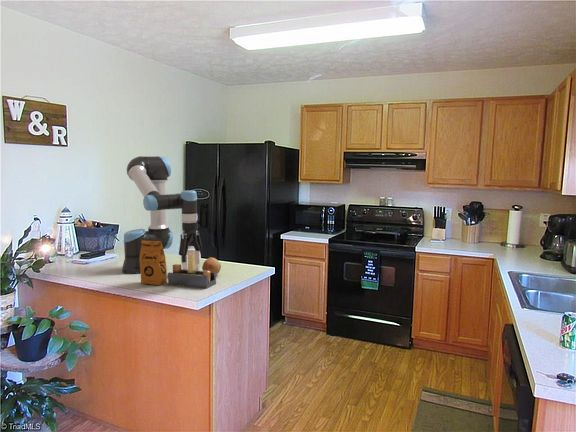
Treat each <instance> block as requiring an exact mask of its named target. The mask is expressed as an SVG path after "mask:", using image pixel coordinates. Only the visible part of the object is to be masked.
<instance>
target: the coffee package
mask: <svg viewBox="0 0 576 432" xmlns="http://www.w3.org/2000/svg"><path fill="white" fill-rule="evenodd" d="M141 244H142V247H141V252H140V256H139V259H140V272H141V273H140V284H142V285H152V286H162V285H164V284H168V269H167V261H166V255H165V251H164V250H165V249H163V246H162V243H161V241H142V242H141Z"/></svg>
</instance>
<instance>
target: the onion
mask: <svg viewBox="0 0 576 432" xmlns="http://www.w3.org/2000/svg"><path fill="white" fill-rule="evenodd" d="M221 269H222V264H221V262H220V261H219V260H218V259H217V258H215V257H208V258H206V259H205V260H204V262H203V263H202V270H201V271H204V270H210V272H216V276H217V275H218V274H219V273H220V271H221Z"/></svg>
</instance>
